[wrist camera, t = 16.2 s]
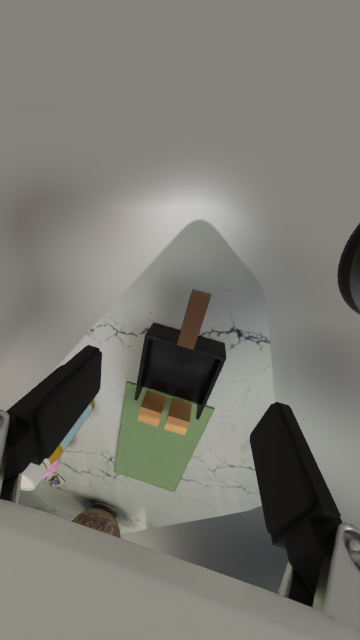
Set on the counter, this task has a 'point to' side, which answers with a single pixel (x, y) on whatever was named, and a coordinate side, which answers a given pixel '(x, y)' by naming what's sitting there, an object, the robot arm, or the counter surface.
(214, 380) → the pan
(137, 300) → the counter surface
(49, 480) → the blueberries
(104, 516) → the ceramic bowl
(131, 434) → the mat
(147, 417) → the block
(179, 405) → the block
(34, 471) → the bottle
